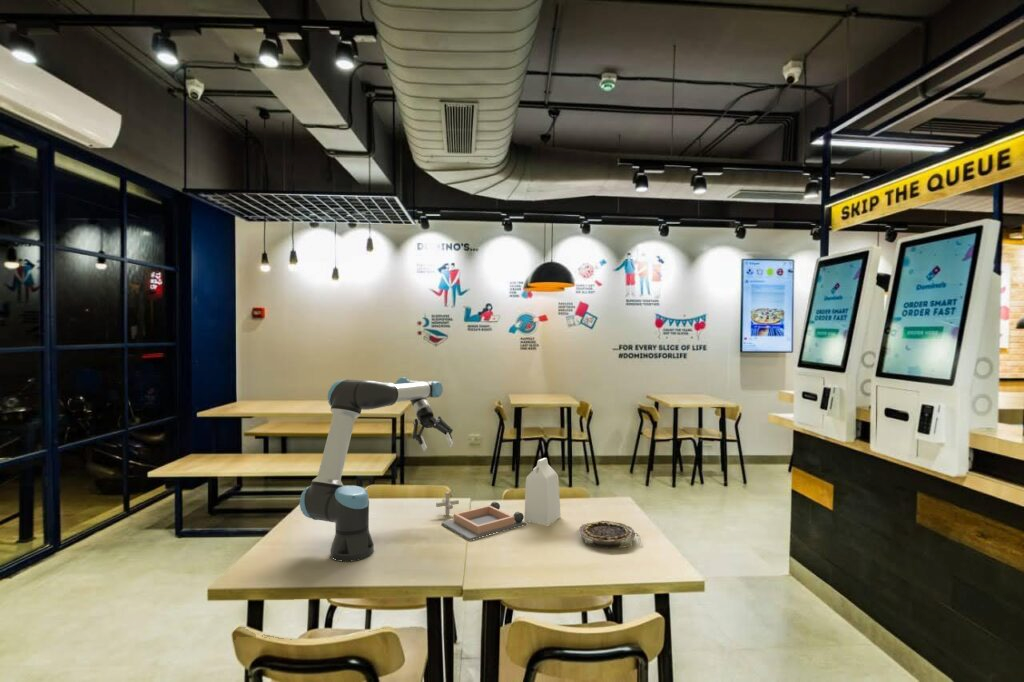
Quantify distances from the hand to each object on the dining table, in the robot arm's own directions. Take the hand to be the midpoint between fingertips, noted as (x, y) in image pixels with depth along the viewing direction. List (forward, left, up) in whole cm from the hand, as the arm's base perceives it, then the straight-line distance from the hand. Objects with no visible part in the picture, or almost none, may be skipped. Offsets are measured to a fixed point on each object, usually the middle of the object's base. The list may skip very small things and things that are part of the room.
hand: (438, 447), depth 231 cm
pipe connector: (0, -8, -29) cm, 30 cm away
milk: (+30, -38, -29) cm, 56 cm away
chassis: (+6, -28, -29) cm, 40 cm away
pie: (+35, -70, -29) cm, 83 cm away
